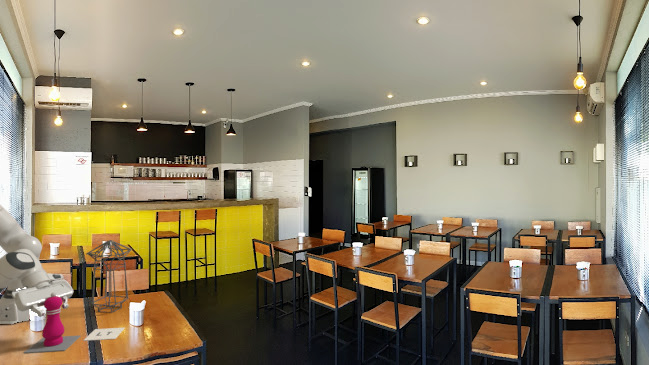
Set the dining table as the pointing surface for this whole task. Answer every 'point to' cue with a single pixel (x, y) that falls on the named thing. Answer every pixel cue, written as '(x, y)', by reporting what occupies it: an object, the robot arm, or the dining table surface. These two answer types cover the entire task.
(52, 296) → the pepper mill
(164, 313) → the dining table surface
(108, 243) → the geometric lantern
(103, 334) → the white flat square plate
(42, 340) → the slate mat
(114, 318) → the dining table surface
